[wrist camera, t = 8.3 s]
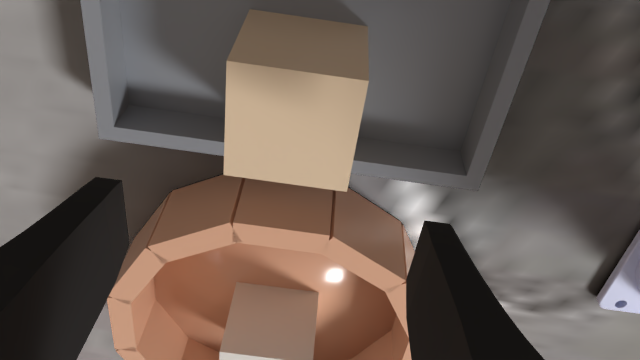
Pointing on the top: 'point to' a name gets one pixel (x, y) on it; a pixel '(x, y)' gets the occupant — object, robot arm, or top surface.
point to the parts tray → (383, 88)
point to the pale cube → (270, 324)
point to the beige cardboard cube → (295, 100)
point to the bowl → (262, 269)
